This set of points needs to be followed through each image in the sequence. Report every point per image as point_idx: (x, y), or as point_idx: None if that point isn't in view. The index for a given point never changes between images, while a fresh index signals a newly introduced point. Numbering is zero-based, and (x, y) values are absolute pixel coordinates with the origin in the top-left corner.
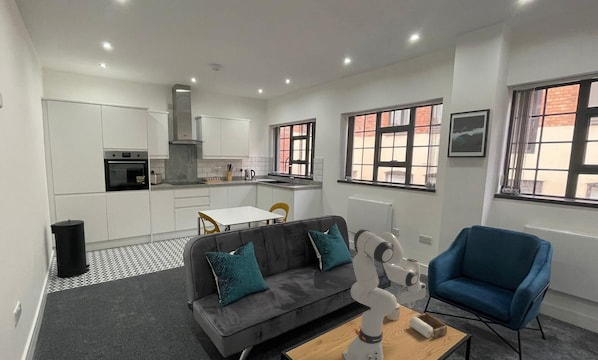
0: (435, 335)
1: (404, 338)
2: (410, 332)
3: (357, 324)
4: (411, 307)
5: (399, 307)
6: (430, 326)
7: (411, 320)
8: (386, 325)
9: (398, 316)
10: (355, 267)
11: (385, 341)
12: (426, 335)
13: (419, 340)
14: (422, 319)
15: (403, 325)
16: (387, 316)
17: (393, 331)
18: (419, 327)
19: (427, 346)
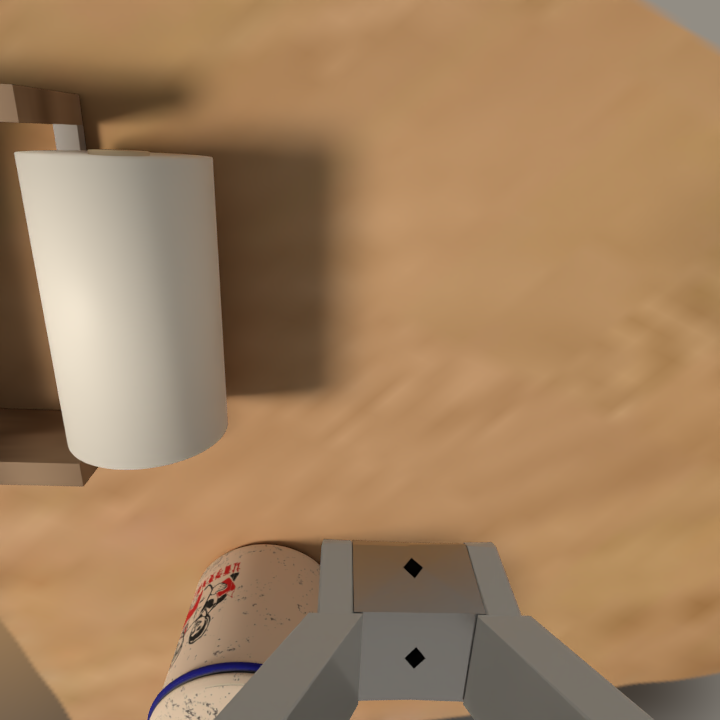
0: (51, 90)
1: (456, 284)
2: (295, 333)
3: (686, 638)
4: (421, 544)
5: (204, 677)
6: (41, 170)
7: (201, 436)
8: (445, 526)
9: (241, 573)
10: None
11: (694, 341)
12: (186, 155)
13: (315, 169)
14: None
15: (269, 456)
16: None
17: (463, 427)
18: (202, 280)
19: (317, 21)
